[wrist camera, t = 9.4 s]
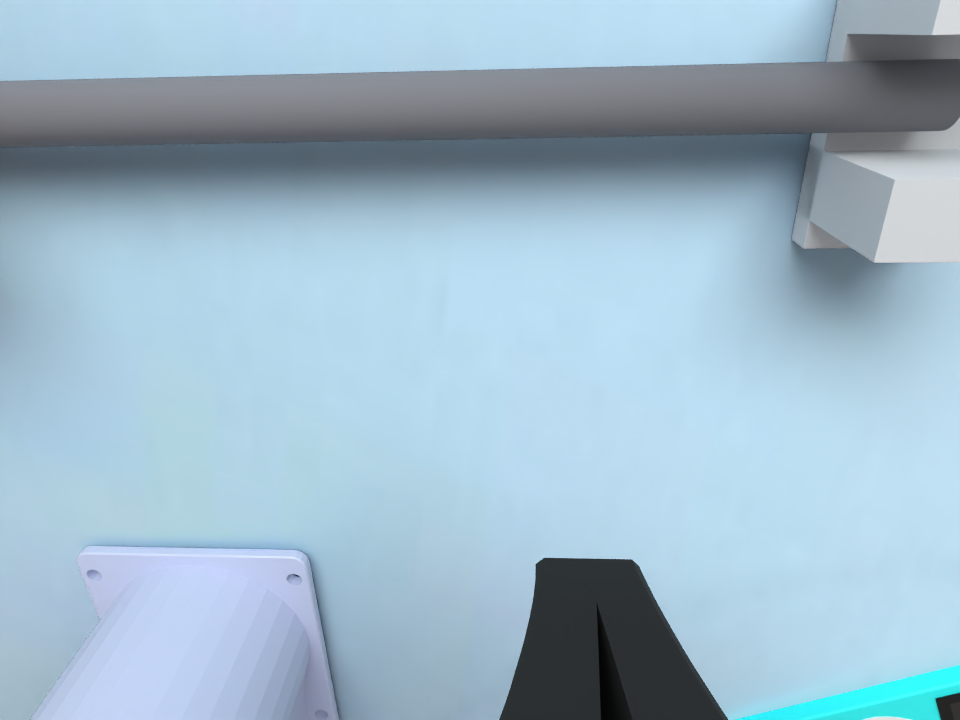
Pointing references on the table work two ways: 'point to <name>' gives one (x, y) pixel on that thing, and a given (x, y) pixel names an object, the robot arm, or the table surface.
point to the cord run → (604, 117)
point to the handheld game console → (884, 701)
